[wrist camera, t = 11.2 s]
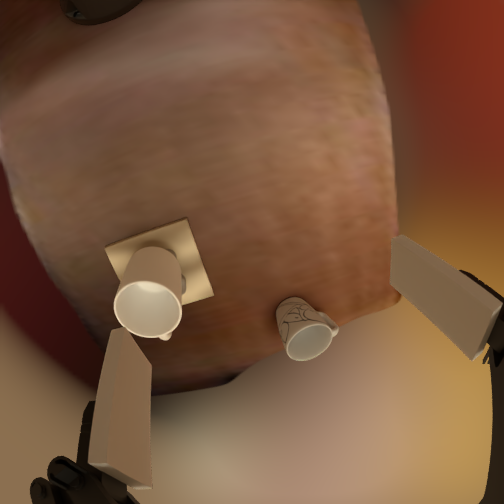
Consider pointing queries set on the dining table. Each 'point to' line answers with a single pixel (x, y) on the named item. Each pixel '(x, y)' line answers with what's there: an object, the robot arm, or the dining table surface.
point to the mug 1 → (150, 294)
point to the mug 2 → (304, 329)
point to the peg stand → (176, 242)
